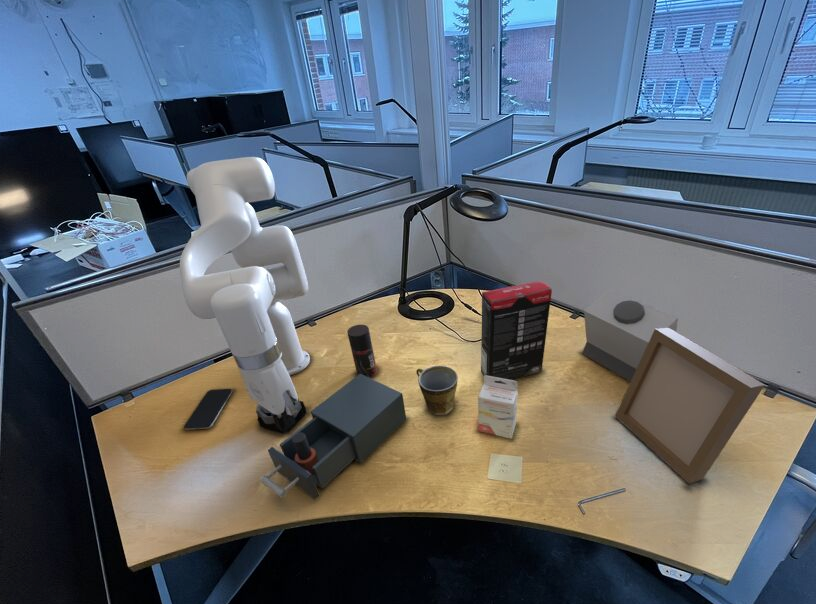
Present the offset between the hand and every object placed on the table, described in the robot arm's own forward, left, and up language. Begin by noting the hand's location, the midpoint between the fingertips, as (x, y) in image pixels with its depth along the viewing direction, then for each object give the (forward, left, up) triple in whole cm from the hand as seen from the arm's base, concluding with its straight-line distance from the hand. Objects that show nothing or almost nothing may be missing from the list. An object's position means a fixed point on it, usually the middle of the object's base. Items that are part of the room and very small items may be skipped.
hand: (286, 425), depth 83 cm
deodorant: (-15, +35, -17) cm, 42 cm away
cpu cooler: (-20, +9, -17) cm, 28 cm away
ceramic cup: (+11, +35, -17) cm, 40 cm away
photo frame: (+65, +55, -17) cm, 86 cm away
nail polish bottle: (0, +1, -15) cm, 15 cm away
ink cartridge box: (+29, +36, -17) cm, 49 cm away
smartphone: (-41, 0, -17) cm, 45 cm away
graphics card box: (+22, +57, -17) cm, 63 cm away
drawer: (0, +2, -16) cm, 16 cm away
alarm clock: (+47, +78, -17) cm, 92 cm away
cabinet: (0, +18, -17) cm, 24 cm away
